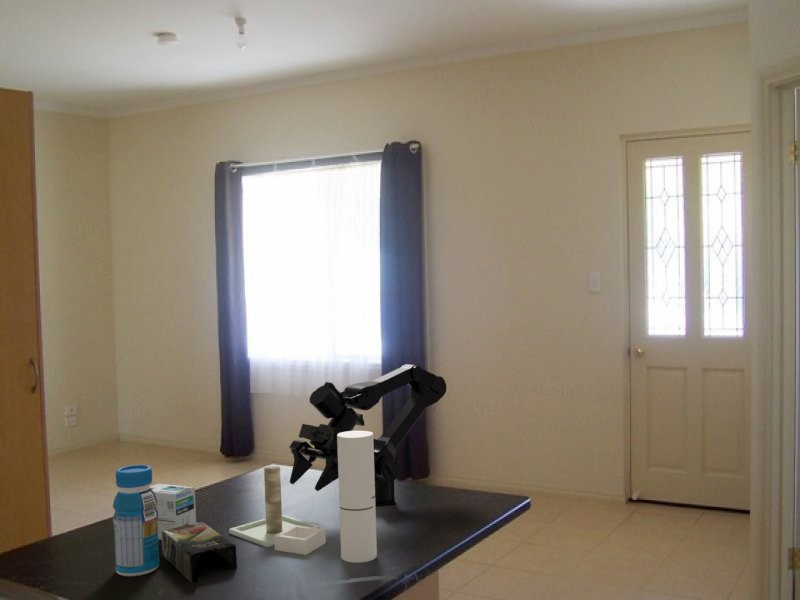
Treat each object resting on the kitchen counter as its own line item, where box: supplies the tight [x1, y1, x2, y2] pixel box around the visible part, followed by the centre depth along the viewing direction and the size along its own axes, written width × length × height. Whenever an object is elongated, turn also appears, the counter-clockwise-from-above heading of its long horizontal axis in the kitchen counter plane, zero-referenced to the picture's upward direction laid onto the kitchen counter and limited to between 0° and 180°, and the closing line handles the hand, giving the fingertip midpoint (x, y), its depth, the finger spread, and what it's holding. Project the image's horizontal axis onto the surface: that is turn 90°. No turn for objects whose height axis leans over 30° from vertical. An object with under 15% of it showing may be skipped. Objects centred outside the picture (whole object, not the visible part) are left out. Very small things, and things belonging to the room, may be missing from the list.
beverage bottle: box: [112, 464, 160, 577], centre depth 154 cm, size 8×8×20 cm
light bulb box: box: [149, 483, 197, 541], centre depth 175 cm, size 11×7×11 cm, turn 65°
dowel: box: [263, 465, 283, 534], centre depth 173 cm, size 4×4×14 cm
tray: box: [228, 514, 320, 548], centre depth 173 cm, size 14×14×2 cm
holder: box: [274, 525, 327, 556], centre depth 164 cm, size 8×8×4 cm
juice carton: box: [161, 521, 238, 584], centre depth 158 cm, size 20×10×6 cm, turn 33°
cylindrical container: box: [337, 430, 378, 563], centre depth 156 cm, size 7×7×25 cm
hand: (303, 486), depth 179 cm, fingers open, 9 cm apart
